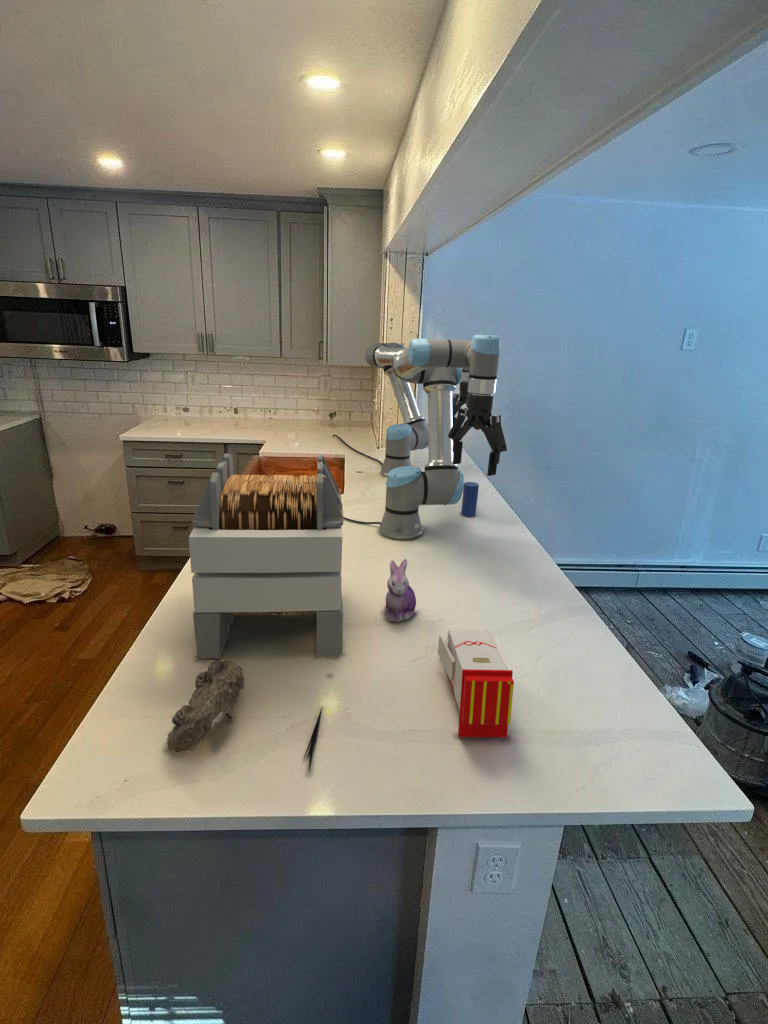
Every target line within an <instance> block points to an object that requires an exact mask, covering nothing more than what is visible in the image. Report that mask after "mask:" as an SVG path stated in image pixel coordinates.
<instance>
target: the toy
mask: <svg viewBox="0 0 768 1024" xmlns="http://www.w3.org/2000/svg"><path fill="white" fill-rule="evenodd" d="M446 640H447V643H446V641H445V639H444V636H443V635H442V634H439V637H438V646H437V656H438V657H439V659H440V661H441V663H442V666H443V668H444V670H445V672H446V674H447V677H448V679H449V681H450V684H451V687H452V690H453V693H454V697H455V701H456V705H457V708H458V711H459V714H458V715H459V716H458V730H457V731H458V732H457V737H458V738H508V731H509V726H510V725H511V717H512V707H513V697H514V696H513V695H514V684H515V680H514V679H513V673H514V671H513V670H512V669H508V667H507V665H506V662H505V661H504V659H503V658H502V655H501V653H500V651H499V649H498V647H497V643H496V639H495V637H494V635H493V634H491V632H490V631H489V629H467V628H466V629H465V628H463V629H461V628H460V629H459V628H448V630H447V639H446Z"/></svg>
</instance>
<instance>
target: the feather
mask: <svg viewBox="0 0 768 1024" xmlns="http://www.w3.org/2000/svg"><path fill="white" fill-rule="evenodd" d="M329 675H330V676H331V675H332V674H331V673H330V674H329ZM322 710H323V707H321V708H320V710H319V713H318V716H317V719H316V723H315V725H314V728H313V731H312V733H311V737H310V739H309V742H308V745H307V748H306V751H305V754H304V757H303V760H302V763H301V767H302V765H303V763H304V761H305V758H308V759H309V760H308V762H307V763H308V764H307V766H308V771H310V770H311V766H312V765H311V764H312V760H313V757H315V756H314V755H315V751H316V749H315V746H317V739H318V733H319V729H320V722H321V717H322V712H323V711H322ZM313 754H314V755H313ZM306 755H307V757H306Z"/></svg>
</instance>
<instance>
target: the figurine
mask: <svg viewBox="0 0 768 1024" xmlns="http://www.w3.org/2000/svg"><path fill="white" fill-rule="evenodd" d="M407 567H408V559H406V558H404V559H403V560H402V561H401V563H400V565H399V566H398V565H397V563H396V562H395V561H394V560H393V559H391V560H390V561H389V570H390V576H389V578H388V579H387V589H388V591H387V592H386V594H385V595H386V596H385V607H384V615H385V616H386V620H387V621H391V622H395V623H400V622H402V621H406V620H409V619H410V618H411V617H413V616H414V615H415V610H416V606H417V597H416V593H415V591H414V590H413V587H411V586H410V582H409V579H408V577H407V574H406V571H407Z"/></svg>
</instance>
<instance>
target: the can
mask: <svg viewBox="0 0 768 1024" xmlns="http://www.w3.org/2000/svg"><path fill="white" fill-rule="evenodd" d="M479 488H480V484H479V483H478V482H475V481H464V488H463V493H462V497H461V499H462V500H461V510H460V515H461V516H462V517H465V518H474V517H476V516H477V509H478V508H477V507H478V497H479Z"/></svg>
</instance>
